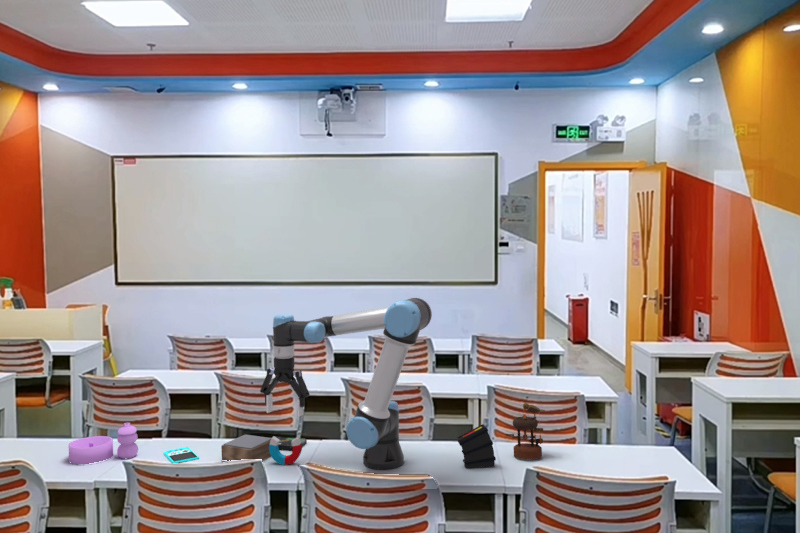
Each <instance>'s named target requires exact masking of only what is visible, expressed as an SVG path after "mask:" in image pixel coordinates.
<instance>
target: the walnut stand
mask: <svg viewBox="0 0 800 533" xmlns="http://www.w3.org/2000/svg"><path fill="white" fill-rule="evenodd" d="M271 439H272V437H268V436H267V437H265V436H258V435H252V434H243V435H240V436H238V437H236V438H234V439H232V440H229V441H228V442H225V443H223V444H222V445H221V461H222V460H227V461H229V460H230V461H231V460H241V459H262V460H263V461H265V460H267V459H269V458H272V457H271V455H270V451H269V444H270V441H271Z"/></svg>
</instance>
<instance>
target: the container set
mask: <svg viewBox="0 0 800 533" xmlns="http://www.w3.org/2000/svg"><path fill="white" fill-rule="evenodd" d="M137 431H138V429H137V427H136V426H133V425H131V422H124V423H123V426H122V427H120V428H118V430H117V433H118V435H117V437H116V439H117V442H118V444H120V445H118V447H117V450H116V451H117V456H118V457H119V458H120V459H122V460H125V459H124V458H129V459H132V457H133V458H134V456H135V457H136V455H138V451H139V446H138V444H137V443H136V441H137V440H138V434H137ZM113 440H114V439H113V438H112V437H111V436H105V435H97V436H86V437H82V438H78V439H75V440H72V441H71V442H70V443H69V444H68V462H69V461H70V462H71V463H73V464H89V463H94V462H99V461H103V460H106V459H109V458H110V459H112V458H113V457H114V441H113ZM112 456H113V457H112ZM111 457H112V458H111ZM110 459H109V460H110ZM106 461H107V460H106ZM71 463H70V464H71ZM73 464H72V465H73Z"/></svg>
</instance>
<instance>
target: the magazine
mask: <svg viewBox="0 0 800 533" xmlns="http://www.w3.org/2000/svg"><path fill="white" fill-rule="evenodd" d="M457 443H458V444H459V446H460V447H461V453H462V454H463V459H462V462H463V465H464V467H465V469H481V468H495V466H496V465H495V464H496V463H495V461H496V460H497V458H496V456H495V450H494V447H493V445H494V442H493V441H492V439H491V436H490V433H489V430H488V428H487V426H485V425H484V424H483V423H482V424H479V425H478V426H477V427H474V428H472V429H471V430H469V431H466V432H465V433H463V434H461V435H459V436H457Z"/></svg>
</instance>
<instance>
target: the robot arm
mask: <svg viewBox="0 0 800 533" xmlns="http://www.w3.org/2000/svg"><path fill="white" fill-rule="evenodd" d="M432 313H433V312H432V309H431V307H430V305H429V303H428V302H427V301H426V300H424V299H421V298H420V297H411V298H408V299H403V300H402V299H401V300H398V301H396V302H394V303H392V304H391V305H389V306H387V307H381V308H375V309H369V310H362V311H356V312H351V313H343V314H337V315H328V316H323V317H320V318H319V317H318V318H315V319H312V320H311V319H310V320H307V321H305V320H303V321H302V320H295V317H294V315H293V314H286V313H285V314H277V315H274V317H273V322H272V330H273V367H270V368H268V369H266V375H265V378H264V380H263V383H262V385H261V387H260V389H259V392H260V393H261V394H264V403H265V404H266V413H267V414H269V413H271V412H273V409H274V408H273V404H274V403H273V402H274V401H273V393H272V391H274V389H275V387H276V386H277V385H278V383H286V384H287V383H288V385H290V386H291V388H292V390H293V391H294V392H295V394H296V395H297V397H298V398H297V399H296V401H297V404H296V405H297V406H296V407H297V408H296V409H297V411H296V412H297V417H298V418H300V417H302V416H303V415H304V407H305V406H306V398H308V397H310V395H311V394H310V391H309V390H308V387H307V385H306V382H305V380H304V377H303V372H302V370H294V368H295V357H294V356H295V343H296V342H299V343H309V344H314V343H316V344H317V343H321V342H322V341H323V340H324V339H325V338H327V337H328V338H330V337H336V336H341V335H349V334H356V333H362V332H363V333H364V332H371V331H378V330H383V333H382V334H383V336H384V338H385V339H384V343H383V345H382V349H381V352H380V354H379V357H378V360H377V363H376V366H375V369H374V372H373V374H372V378H371V381H370V384H369V386H368V389H367V392H366V394H365V398H364V400H362V401H360V402H359V403H358V405H357V407H356V410H355V414H354V416H353V417H352V418H350V420H349V421H348V422H347V424H346V428H345V431H346V432H345V433H346V437H347V438H348V441H349V442H350V443H351V444H352V445H353V446H354V447H355V448H357V449H360V450H364V454H363V457H362V461H363V462H362V464H363V465H364V467H367V468H369V469H374V470H390V469H391V470H392V469H396V468H399V467H401V466H402V465H404V463H405V460H404V459H405V455H404V453H403V450H402V446H401V444H400V437H399V436H400V421H399V420H400V414H399V413H400V409H399V404H398V402H397V401H395V400H392V398H393V395H394V391H395V389H396V386H397V383H398V380H399V377H400V375H401V371H402V369H403V367H404V364H405V360H406V358H407V355H408V351H409V349H410V347H412V346H414V345H416V342H417V339H418V337H419V335H420V334H419V333H420V332H421V331H422V330H424V329H425V328H427V327H428V325H429V324H430V323H431V320H432ZM273 376H274V378H273ZM271 380H272V381H271Z"/></svg>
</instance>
